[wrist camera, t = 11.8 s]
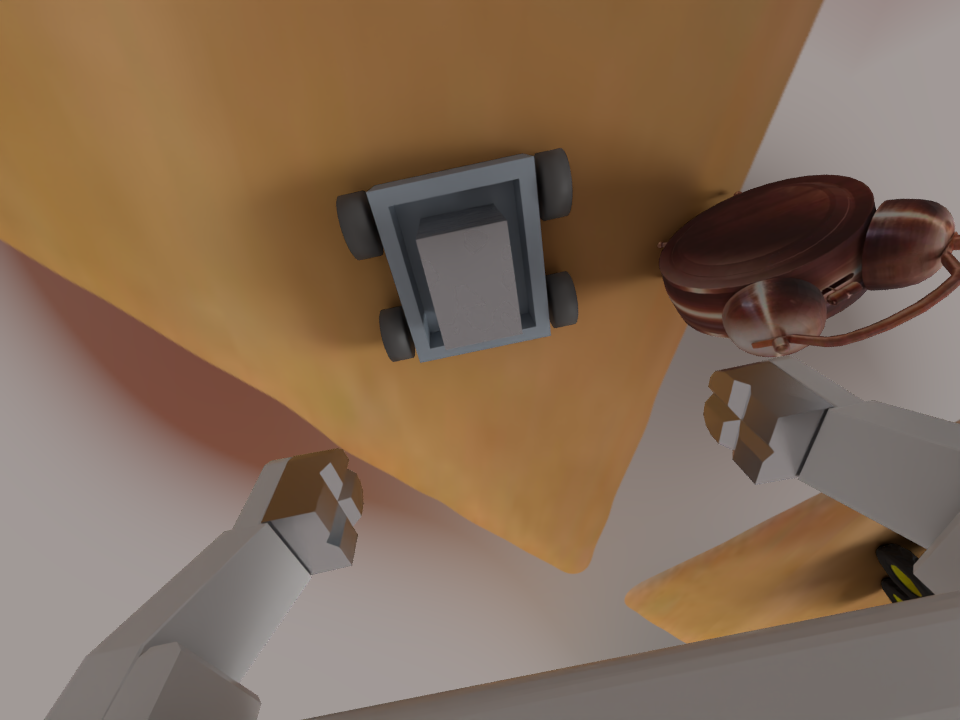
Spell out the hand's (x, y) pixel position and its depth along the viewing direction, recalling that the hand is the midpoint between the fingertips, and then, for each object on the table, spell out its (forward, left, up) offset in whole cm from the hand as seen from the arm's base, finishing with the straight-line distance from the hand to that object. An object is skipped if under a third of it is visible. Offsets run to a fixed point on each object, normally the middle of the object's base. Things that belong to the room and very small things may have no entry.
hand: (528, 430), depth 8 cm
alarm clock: (+4, +18, -22) cm, 28 cm away
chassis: (+2, 0, -22) cm, 22 cm away
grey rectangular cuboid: (+2, 0, -21) cm, 21 cm away
